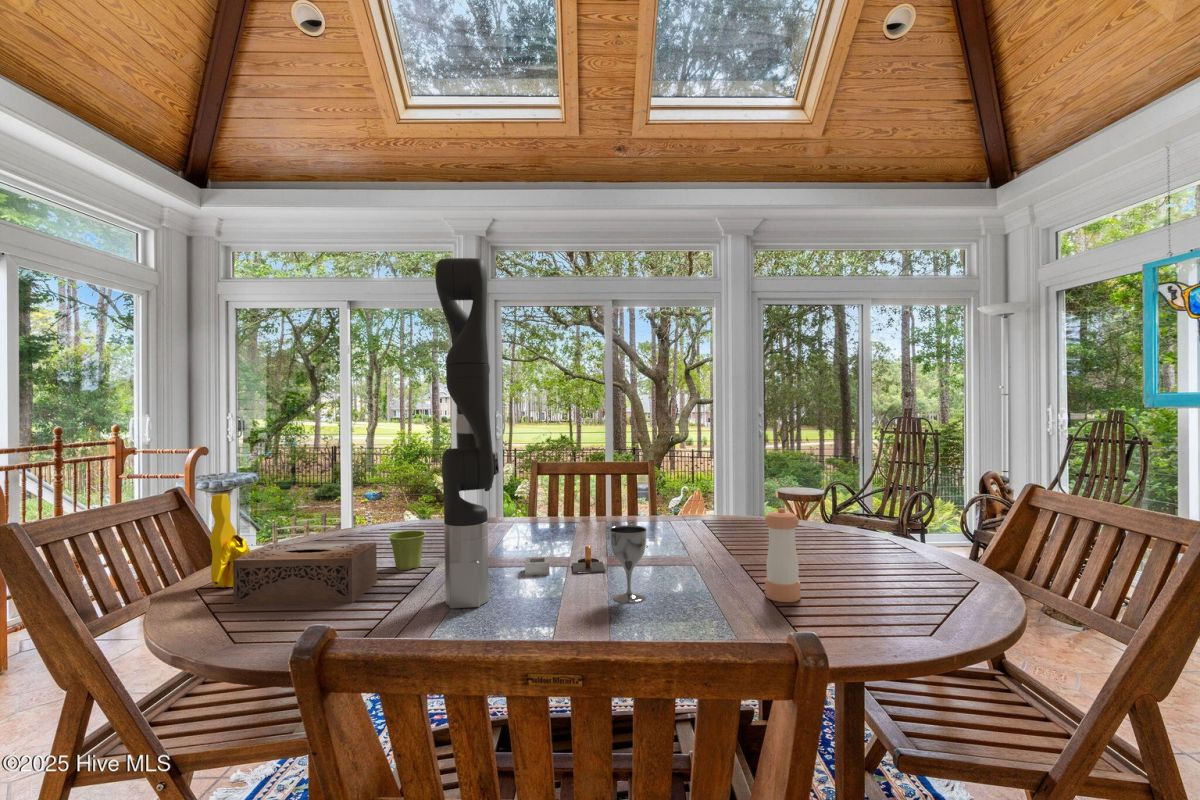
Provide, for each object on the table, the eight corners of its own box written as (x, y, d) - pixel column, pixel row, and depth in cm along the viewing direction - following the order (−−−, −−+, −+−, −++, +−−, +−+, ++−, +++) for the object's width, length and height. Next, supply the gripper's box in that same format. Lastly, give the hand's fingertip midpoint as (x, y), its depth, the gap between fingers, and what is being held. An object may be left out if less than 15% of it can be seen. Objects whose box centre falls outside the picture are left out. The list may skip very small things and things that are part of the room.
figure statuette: (225, 597, 136) (223, 499, 136) (189, 597, 136) (188, 500, 136) (266, 574, 154) (265, 488, 154) (235, 575, 154) (234, 489, 154)
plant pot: (420, 572, 153) (419, 538, 153) (383, 572, 154) (382, 538, 154) (431, 562, 163) (430, 530, 163) (396, 562, 163) (396, 530, 163)
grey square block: (549, 575, 149) (549, 562, 149) (525, 576, 148) (524, 563, 148) (549, 568, 155) (549, 556, 155) (525, 569, 154) (525, 557, 154)
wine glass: (617, 605, 126) (615, 534, 126) (606, 594, 133) (605, 526, 133) (652, 601, 128) (651, 531, 128) (640, 590, 136) (639, 524, 136)
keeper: (605, 572, 150) (605, 550, 150) (573, 573, 149) (573, 551, 149) (602, 563, 158) (602, 542, 158) (572, 565, 157) (571, 543, 157)
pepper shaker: (758, 593, 132) (757, 506, 132) (785, 589, 135) (784, 504, 135) (779, 604, 125) (778, 512, 125) (807, 599, 128) (806, 509, 128)
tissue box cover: (376, 584, 145) (376, 542, 145) (352, 604, 130) (351, 558, 130) (270, 585, 145) (269, 544, 145) (233, 606, 130) (232, 560, 130)
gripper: (439, 431, 158) (441, 492, 159) (490, 432, 155) (492, 494, 156) (452, 428, 165) (454, 486, 167) (501, 428, 162) (502, 487, 164)
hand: (472, 490), depth 162 cm, fingers open, 8 cm apart
